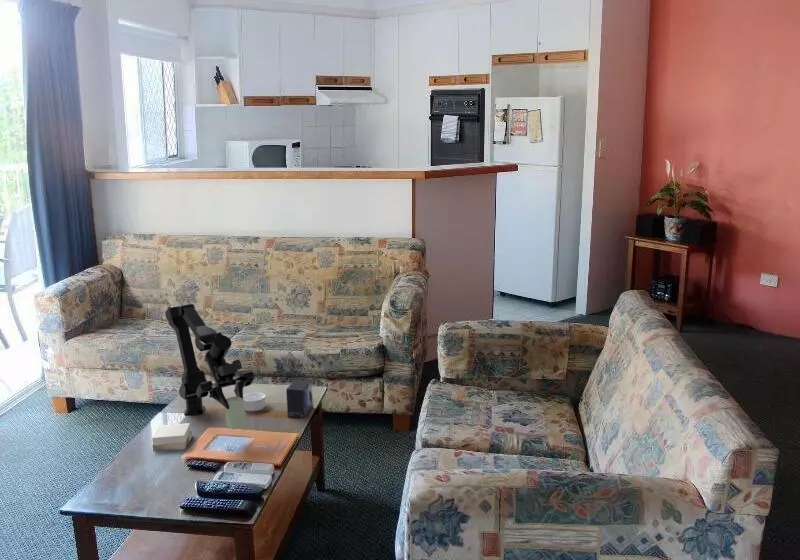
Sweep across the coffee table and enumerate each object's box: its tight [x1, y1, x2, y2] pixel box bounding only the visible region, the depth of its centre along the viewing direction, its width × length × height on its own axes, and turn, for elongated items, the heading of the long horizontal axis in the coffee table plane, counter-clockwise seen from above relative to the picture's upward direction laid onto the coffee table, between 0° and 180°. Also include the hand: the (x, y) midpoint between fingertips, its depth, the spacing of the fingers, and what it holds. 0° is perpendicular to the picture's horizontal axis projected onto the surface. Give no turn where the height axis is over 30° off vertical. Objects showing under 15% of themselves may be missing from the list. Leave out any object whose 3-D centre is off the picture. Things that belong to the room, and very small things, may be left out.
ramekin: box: [243, 392, 267, 412], centre depth 272 cm, size 9×9×4 cm
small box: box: [286, 378, 314, 419], centre depth 265 cm, size 11×6×10 cm, turn 168°
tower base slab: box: [152, 430, 193, 451], centre depth 243 cm, size 10×10×2 cm
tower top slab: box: [151, 422, 192, 445], centre depth 243 cm, size 10×10×2 cm
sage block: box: [225, 395, 247, 430], centre depth 241 cm, size 4×4×9 cm
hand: (235, 406), depth 240 cm, fingers closed on sage block, 4 cm apart
